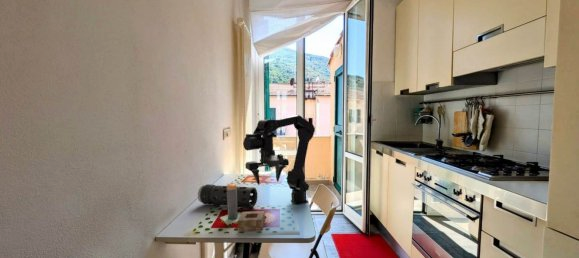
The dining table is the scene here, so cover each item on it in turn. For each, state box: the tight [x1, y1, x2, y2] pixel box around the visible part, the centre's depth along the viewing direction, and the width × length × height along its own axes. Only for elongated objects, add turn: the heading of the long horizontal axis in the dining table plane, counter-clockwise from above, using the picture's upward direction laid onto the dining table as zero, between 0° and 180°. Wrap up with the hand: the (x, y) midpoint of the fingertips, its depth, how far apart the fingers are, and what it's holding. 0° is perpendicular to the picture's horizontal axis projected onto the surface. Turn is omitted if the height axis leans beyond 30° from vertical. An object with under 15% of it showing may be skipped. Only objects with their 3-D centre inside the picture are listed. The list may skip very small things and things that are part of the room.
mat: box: [219, 212, 242, 226], centre depth 110 cm, size 9×9×1 cm
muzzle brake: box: [197, 184, 258, 209], centre depth 126 cm, size 10×28×10 cm, turn 72°
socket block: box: [237, 210, 266, 232], centre depth 102 cm, size 9×9×4 cm
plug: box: [226, 183, 239, 220], centre depth 109 cm, size 4×4×14 cm
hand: (268, 182), depth 116 cm, fingers open, 9 cm apart
